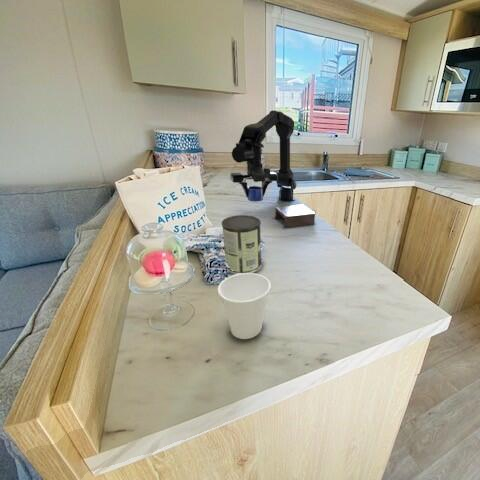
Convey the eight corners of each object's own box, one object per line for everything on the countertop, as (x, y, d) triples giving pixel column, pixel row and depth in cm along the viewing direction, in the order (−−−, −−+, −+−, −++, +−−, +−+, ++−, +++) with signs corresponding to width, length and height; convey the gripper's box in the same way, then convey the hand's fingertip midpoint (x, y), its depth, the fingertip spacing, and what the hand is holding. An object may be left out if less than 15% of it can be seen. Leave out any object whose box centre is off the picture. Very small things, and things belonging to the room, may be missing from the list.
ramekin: (260, 196, 122) (260, 185, 120) (264, 200, 117) (264, 189, 115) (245, 197, 119) (245, 186, 117) (249, 202, 114) (249, 190, 112)
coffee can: (241, 254, 87) (239, 212, 81) (268, 263, 83) (268, 219, 77) (217, 268, 78) (213, 222, 72) (246, 279, 75) (244, 231, 69)
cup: (227, 313, 62) (224, 272, 57) (272, 314, 63) (272, 272, 58) (216, 348, 53) (211, 301, 48) (268, 347, 54) (268, 302, 49)
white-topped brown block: (302, 215, 125) (302, 204, 123) (314, 224, 115) (315, 213, 113) (275, 218, 119) (275, 207, 117) (285, 228, 109) (285, 216, 107)
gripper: (235, 163, 101) (237, 204, 107) (283, 163, 109) (282, 200, 116) (228, 158, 109) (231, 196, 116) (273, 158, 118) (273, 193, 124)
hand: (255, 196), depth 118 cm, fingers closed on ramekin, 6 cm apart
